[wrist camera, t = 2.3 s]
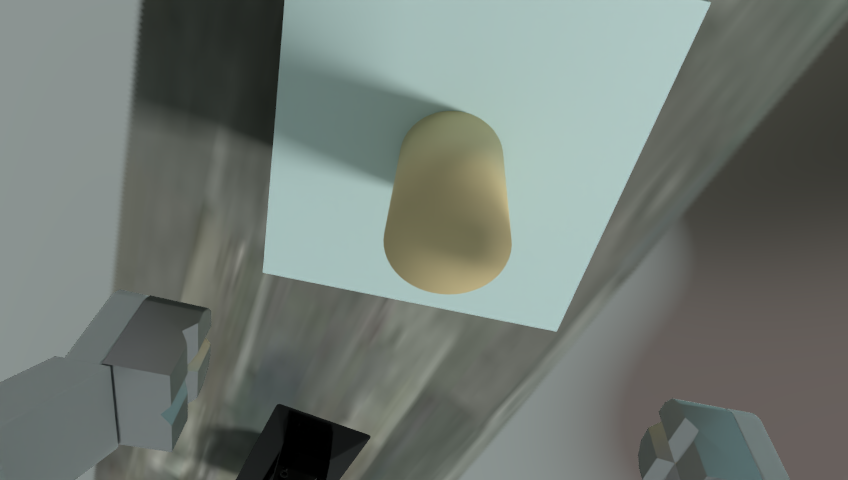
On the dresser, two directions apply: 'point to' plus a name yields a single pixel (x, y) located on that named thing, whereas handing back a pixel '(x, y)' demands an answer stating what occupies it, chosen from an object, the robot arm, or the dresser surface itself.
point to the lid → (463, 143)
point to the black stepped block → (302, 448)
